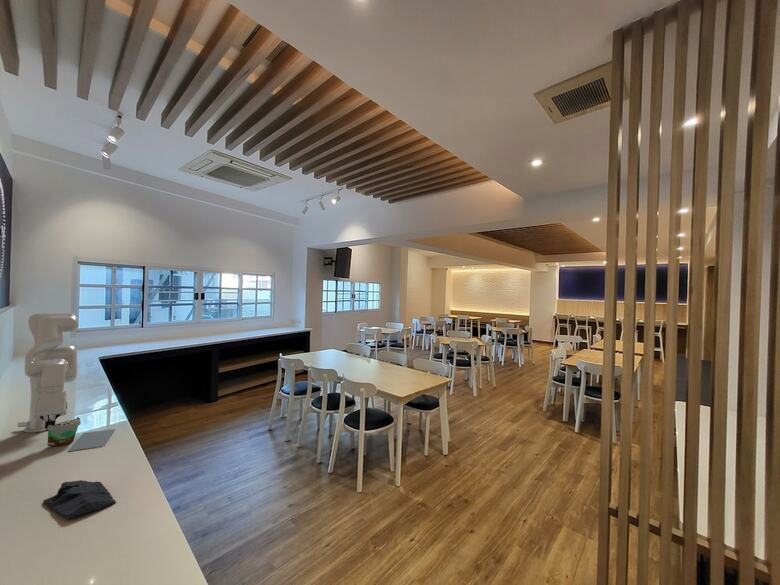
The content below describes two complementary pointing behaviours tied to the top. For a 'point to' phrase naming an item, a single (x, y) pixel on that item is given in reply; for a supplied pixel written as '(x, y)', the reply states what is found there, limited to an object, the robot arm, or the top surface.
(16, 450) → the top surface
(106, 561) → the top surface
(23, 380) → the top surface
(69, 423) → the food container
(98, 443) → the rubber mat
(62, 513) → the dark slate chunk
